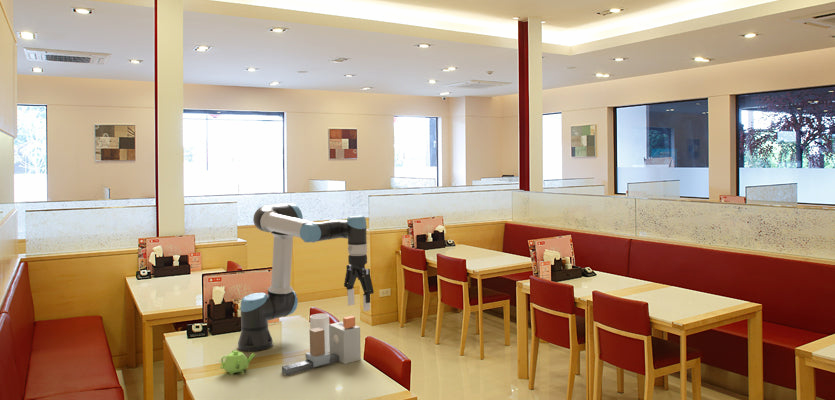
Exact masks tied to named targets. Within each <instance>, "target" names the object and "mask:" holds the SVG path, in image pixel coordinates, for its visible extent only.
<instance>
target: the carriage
mask: <svg viewBox="0 0 835 400" xmlns="http://www.w3.org/2000/svg"><path fill="white" fill-rule="evenodd" d="M329 359H330V352H329V353H327V352H325V337H324V330H323V329H321V328H315V329H309V351H308V352H305V361H306V360H310V361H312V362H313V367H316V366H319V365H323V364H327V363H329Z"/></svg>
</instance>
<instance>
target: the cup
mask: <svg viewBox="0 0 835 400" xmlns="http://www.w3.org/2000/svg"><path fill="white" fill-rule="evenodd" d="M309 319H310V320H309V322H310V323H309V325H310V329H315V328H321V329H323V330H324V337H325V352H327V353H329V354H330V346H329V324H330V315H329V314H328V313H315V314H311V315H310V316H309ZM310 329H309V330H310Z"/></svg>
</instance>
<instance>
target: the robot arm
mask: <svg viewBox="0 0 835 400" xmlns="http://www.w3.org/2000/svg"><path fill="white" fill-rule="evenodd" d="M252 218H253V224H254V226H255V228H256V229H258V230H259V231H262V232H266V233H271V235H272V236H273V244H272V246H273V248H272V267H271V268H272V270H271V285H270V286H268V287H267V293H265V292H256V293H255V292H253V293H249V294H247V295H245V296H243V297H242V298H241V300H240V307H239V309H240V323H241V324H240V325H241V330H240V335H239V337H238V342H237V349H238V351H243V352H260V351H263V350H267V349H269V348H271V347H272V346H273V345H274V343H273V338H272V335H271V332H270V328H269V321H271V320H272V321H273V320H275V319H280V318H284V317H288V316H290V315H292V314H293V313H295V311H296V310H297V307H298V304H299V302H298V300H299V299H298V297H297V293H296V291H295V290H294V288H293V287H292V286H291V278H292V276H291V275H292V273H291V272H292V263H293V260H292V259H293V244H294V243H293V242H294V240H293V239H294V237H295V238H296V237H297V238H299V239H301V240H302V241H303V242H304V243H316V242H322V241H328V240H329V241H330V240H336V239H347V251H348V261H347V262H348V264H347V265H346V272H345V277H344V283H343V286H344V288H346V290H347V306H354V305H355V288H354V286H355V282H356V280H359V283H360V285H361V288H362V291H363V294H362V296H363V297H362V299H363V300H362V301H363V303H362V304H363V312H368V311H371V295H372V294H374V293H375V291H374V288H373V282H372V279H371V269H370V268H366V267H365V266H366V265H367V263H368V254H367V253H368V244H367V243H368V241H367V240H368V239H367V229H368V225H367V218H366V217H365V216H364V215H348V217H347V219H341V218H333V219H332V218H331V219H329V220H326V221H317V222H316V221H312V220H308V219H303V213H302V211H301V209H300V207H299V205H296V204H295V203H288V202H287V203H286V202H285V203H277V204H266V205H262V206H260V207H259V208H258V209H256V210H255V213H254V214H253V217H252Z"/></svg>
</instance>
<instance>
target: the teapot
mask: <svg viewBox="0 0 835 400" xmlns="http://www.w3.org/2000/svg"><path fill="white" fill-rule="evenodd" d="M255 356H256V353H254V352H251V354H250V355H249V356H248V357H247V356H246V355H245V354H244V353H243V352H241V351H239V350H232V351H231V352H230V353H229V354H228V355H223V356H222V357H221V359H220V362H221V364H220V366H219V368H220V369H221V370H225V371H226V372H227V373H229V374H228V375H229V376H232V375H235V373H240V374H244V373H245V371H246V370H247V368H249V363H251V361H252V360H253V359H254V358H255ZM223 359H225V360H224V361H223Z"/></svg>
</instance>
